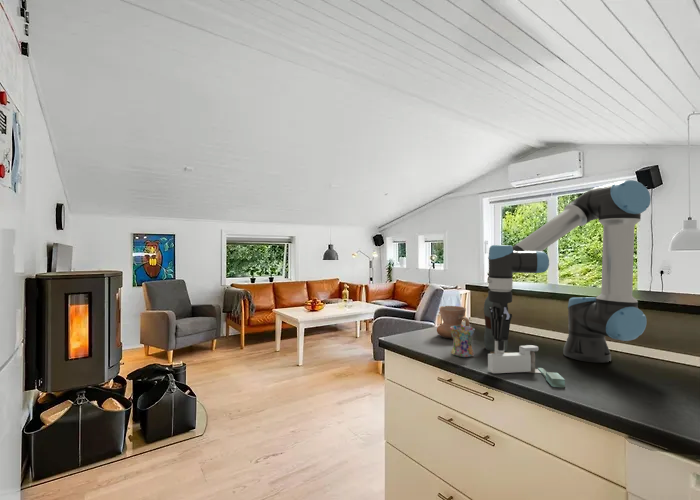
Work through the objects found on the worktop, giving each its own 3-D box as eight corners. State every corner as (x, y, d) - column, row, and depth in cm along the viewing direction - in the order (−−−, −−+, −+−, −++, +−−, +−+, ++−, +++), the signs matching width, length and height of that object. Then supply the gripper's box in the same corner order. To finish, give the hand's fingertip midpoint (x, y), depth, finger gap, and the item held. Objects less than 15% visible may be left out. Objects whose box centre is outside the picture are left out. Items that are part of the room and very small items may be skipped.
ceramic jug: (428, 335, 171) (428, 306, 170) (450, 331, 177) (450, 303, 177) (455, 344, 155) (456, 312, 154) (479, 340, 162) (479, 309, 161)
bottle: (479, 348, 146) (479, 277, 147) (491, 345, 152) (490, 276, 152) (501, 353, 139) (500, 278, 139) (512, 349, 145) (511, 277, 145)
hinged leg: (533, 367, 121) (533, 344, 121) (541, 371, 117) (541, 347, 117) (487, 369, 118) (487, 346, 118) (493, 373, 114) (493, 349, 114)
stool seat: (537, 359, 131) (537, 341, 131) (564, 387, 104) (564, 364, 104) (490, 356, 135) (490, 338, 135) (505, 382, 108) (505, 360, 108)
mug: (480, 357, 134) (480, 329, 134) (459, 359, 131) (459, 331, 131) (461, 349, 145) (461, 323, 146) (441, 351, 143) (441, 325, 143)
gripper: (481, 287, 126) (481, 353, 126) (497, 292, 113) (496, 365, 113) (502, 288, 126) (502, 353, 126) (520, 292, 113) (519, 365, 113)
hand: (499, 359), depth 119 cm, fingers closed
